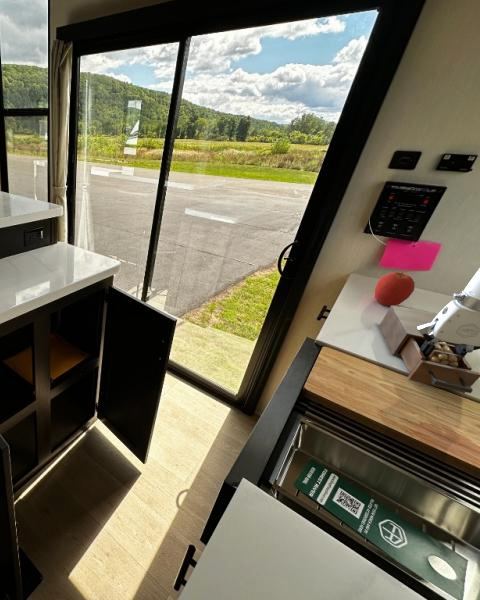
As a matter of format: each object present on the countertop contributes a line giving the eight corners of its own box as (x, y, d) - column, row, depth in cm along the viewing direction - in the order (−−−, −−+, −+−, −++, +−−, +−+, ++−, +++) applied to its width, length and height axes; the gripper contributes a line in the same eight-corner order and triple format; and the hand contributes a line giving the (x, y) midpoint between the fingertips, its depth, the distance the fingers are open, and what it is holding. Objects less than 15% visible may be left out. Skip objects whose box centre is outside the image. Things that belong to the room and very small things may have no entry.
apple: (373, 308, 119) (392, 276, 111) (363, 295, 127) (380, 263, 119) (407, 313, 116) (429, 280, 108) (395, 299, 124) (414, 267, 116)
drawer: (473, 406, 80) (490, 388, 77) (414, 391, 85) (428, 373, 81) (441, 357, 95) (455, 339, 92) (392, 346, 100) (404, 329, 96)
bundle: (419, 346, 92) (426, 337, 90) (445, 351, 90) (452, 342, 88) (429, 363, 86) (437, 354, 85) (457, 369, 84) (465, 360, 82)
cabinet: (447, 367, 93) (465, 345, 88) (392, 355, 98) (406, 333, 93) (426, 335, 105) (441, 314, 101) (378, 325, 110) (391, 305, 106)
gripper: (440, 302, 79) (402, 356, 89) (540, 318, 72) (488, 375, 82) (429, 288, 84) (394, 340, 94) (521, 302, 78) (474, 357, 87)
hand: (438, 356), depth 88 cm, fingers closed on bundle, 5 cm apart
